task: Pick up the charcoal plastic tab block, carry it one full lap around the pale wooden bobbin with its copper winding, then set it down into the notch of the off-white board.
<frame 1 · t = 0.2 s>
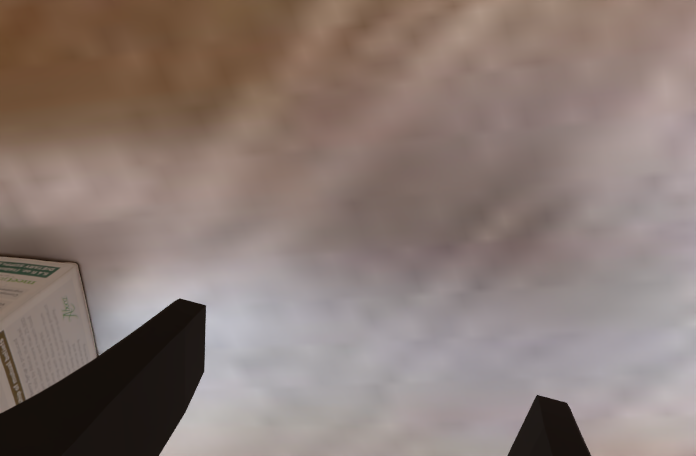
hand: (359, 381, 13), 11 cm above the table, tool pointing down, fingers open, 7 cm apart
syrup box: (40, 310, 28), on the table
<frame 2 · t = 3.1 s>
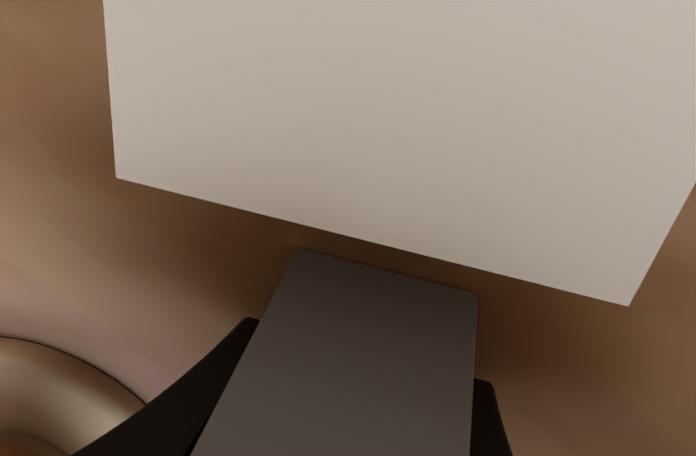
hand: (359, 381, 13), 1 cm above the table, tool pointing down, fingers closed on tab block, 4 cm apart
tab block: (371, 336, 14), on the table, touching gripper
bobbin: (57, 444, 19), on the table
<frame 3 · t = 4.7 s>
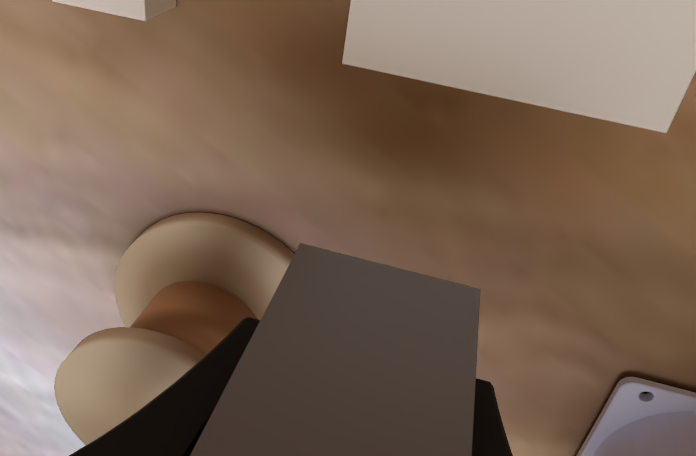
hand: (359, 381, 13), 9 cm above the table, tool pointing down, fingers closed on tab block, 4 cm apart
tab block: (373, 332, 14), point 8 cm above the table, touching gripper
bobbin: (224, 303, 26), on the table
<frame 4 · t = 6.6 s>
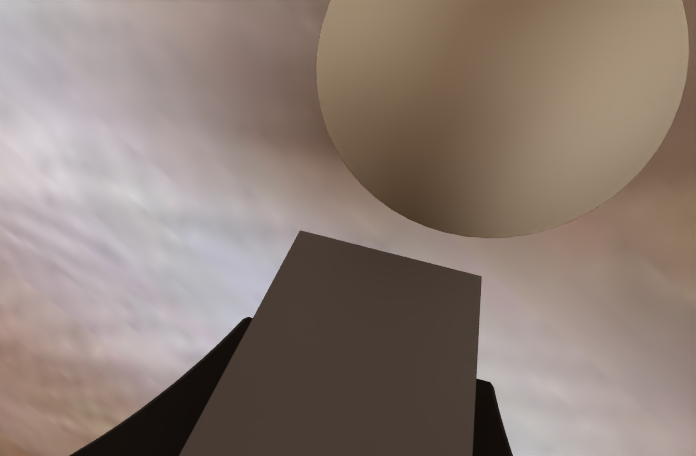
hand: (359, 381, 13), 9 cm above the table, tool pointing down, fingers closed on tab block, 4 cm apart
tab block: (373, 321, 14), point 8 cm above the table, touching gripper
bobbin: (491, 13, 17), on the table
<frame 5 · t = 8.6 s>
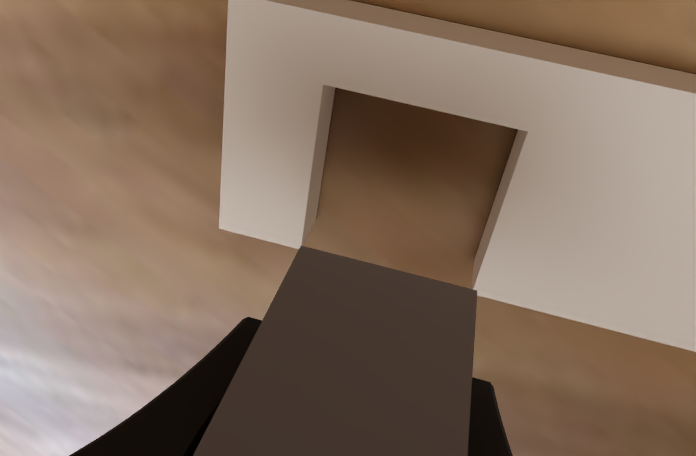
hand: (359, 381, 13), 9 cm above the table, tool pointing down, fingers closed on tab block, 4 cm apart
tab block: (372, 333, 14), point 8 cm above the table, touching gripper
notched board: (506, 163, 20), on the table
when the fingers open (3 cm above the table, at t = 10.2 s): tab block drops 2 cm, on the table.
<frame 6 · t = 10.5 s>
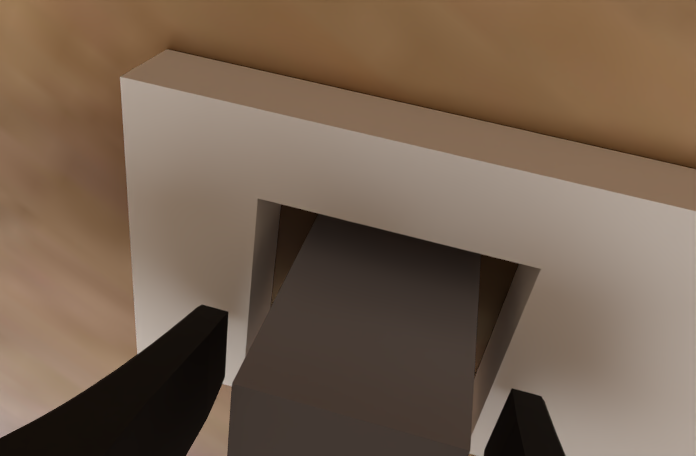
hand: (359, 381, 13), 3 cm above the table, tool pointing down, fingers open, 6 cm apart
tab block: (385, 288, 16), on the table
notched board: (510, 285, 15), on the table
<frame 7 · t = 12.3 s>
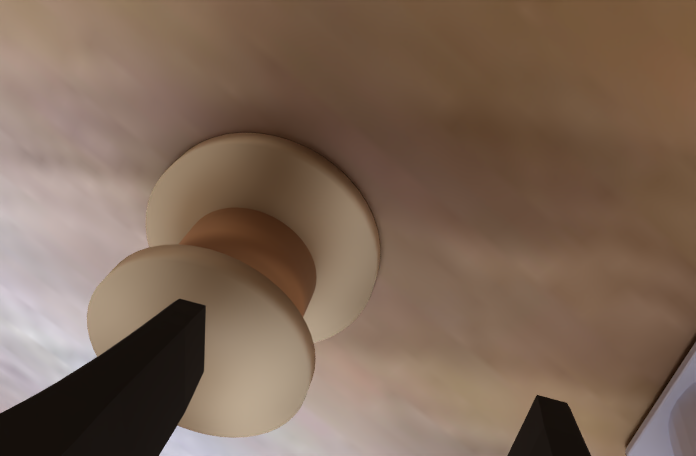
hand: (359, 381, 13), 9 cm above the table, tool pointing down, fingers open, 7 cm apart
bobbin: (266, 240, 23), on the table
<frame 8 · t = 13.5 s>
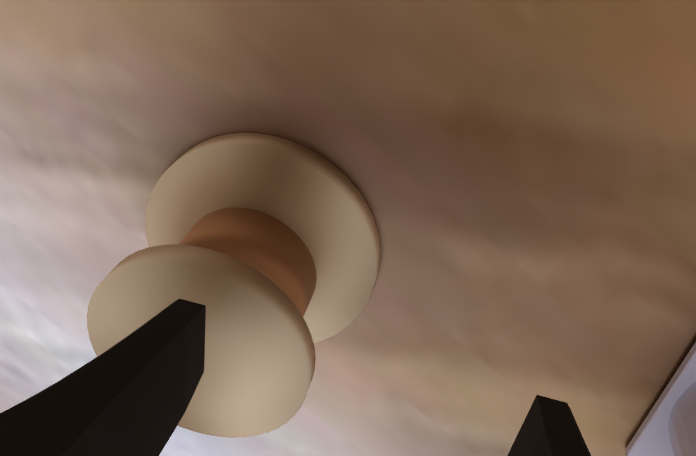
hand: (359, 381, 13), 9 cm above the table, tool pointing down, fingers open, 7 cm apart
bobbin: (266, 240, 23), on the table
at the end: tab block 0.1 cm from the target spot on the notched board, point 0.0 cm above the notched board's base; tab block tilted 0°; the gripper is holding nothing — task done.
